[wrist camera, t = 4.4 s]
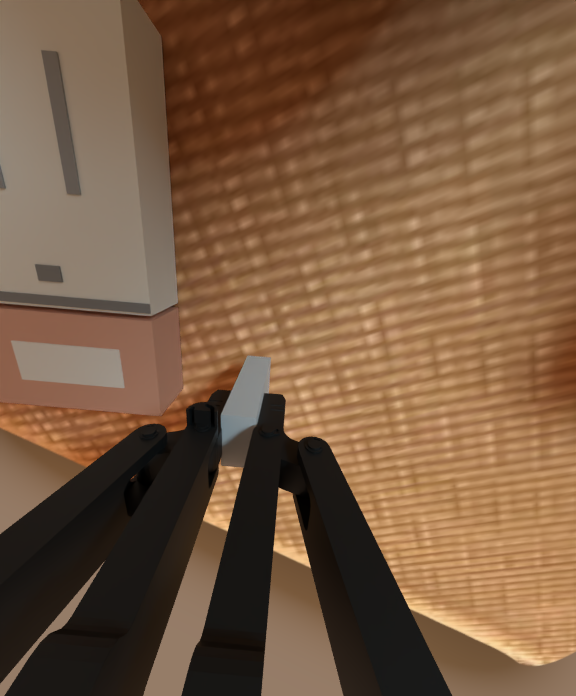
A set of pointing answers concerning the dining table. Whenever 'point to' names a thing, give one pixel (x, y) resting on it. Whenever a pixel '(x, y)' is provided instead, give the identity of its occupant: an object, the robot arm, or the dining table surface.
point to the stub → (90, 359)
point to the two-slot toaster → (84, 158)
